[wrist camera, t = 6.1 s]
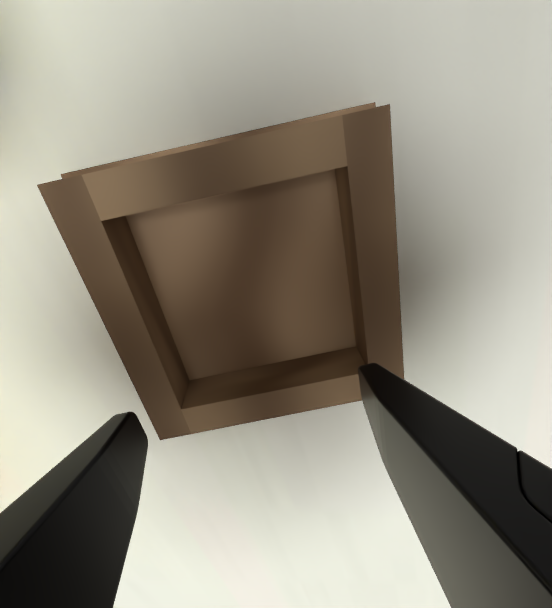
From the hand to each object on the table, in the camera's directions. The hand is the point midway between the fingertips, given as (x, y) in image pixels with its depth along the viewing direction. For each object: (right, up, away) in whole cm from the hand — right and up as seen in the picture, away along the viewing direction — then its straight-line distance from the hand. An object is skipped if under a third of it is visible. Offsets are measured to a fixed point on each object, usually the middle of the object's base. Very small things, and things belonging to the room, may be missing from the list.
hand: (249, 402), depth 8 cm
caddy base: (0, +3, +7) cm, 8 cm away
